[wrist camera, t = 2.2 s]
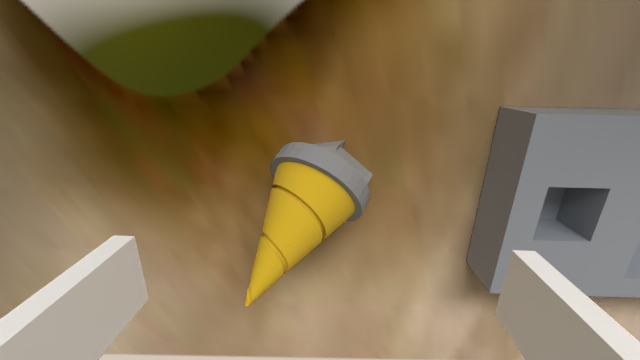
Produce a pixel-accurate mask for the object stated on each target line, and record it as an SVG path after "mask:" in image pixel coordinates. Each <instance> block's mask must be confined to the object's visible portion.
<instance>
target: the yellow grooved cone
mask: <svg viewBox="0 0 640 360" xmlns="http://www.w3.org/2000/svg"><path fill="white" fill-rule="evenodd" d="M344 143H345V140H343V141H334V142H326V143H318V144H308V143H302V142H293V143H288V144H286V145H284V146H283V147H282V148H281V149H280V151H279V152H278V154H277V155H276V156H275V158H274V159H273V161H272V162H271V165H270V170H271V173H272V176H273V177H274V181H273V185H272V187H273V188H272V189H271V193H270V198H269V202H268V206H267V210H266V214H265V219H264V223H263V227H262V231H263V232H264V233H265V234H264V235H260V240H259V244H258V248H257V252H256V256H255V261H254V265H253V269H252V273H251V277H250V286H249V288H248V290H247V294H246V299H245V303H244V305H245V306H249V305H250V304H251V303H252V302H253V301H254V300H256V299H257V298H258V297H259V296H260V295H261V294H262V293H264V292H265V291H266V290H267V289H268V288H269V287H270V286H272V285H273V284H274V283H275V282H276V281H277V280H278V279H280V278H281V277H282V276H283V274H285V273H286V272H288V271H289V270H290V269H291V268H292V267H293V266H294V265H296V264H297V263H298V262H299V261H300V260H301V259H302V258H304V257H305V256H306V255H307V254H308V253H309V252H310V251H312V250H313V249H314V248H315V247H316V246H317V245H318V244H320V243H321V242H322V241H323V240H324V239H325V238H326V237H328V236H329V235H330V234H331V233H332V232H333V231H334V230H336V229H337V228H338V227H339V226H340V225H341V224H342V223H344V222H345V221H354V220H356V219H358V218H359V217H360V216H361V214H362V212H363V210H364V208H365V206H366V204H367V202H368V200H369V196H370V194H369V189H368V187H367V185H368V183H369V181H370V179H371V177H372V175H373V174H372V173H371V172H370V171H368V170H367V169H366V168H365V167H364V166H363V165H361V164H360V163H359V162H358V161H357V160H356V159H355V158H353V157H352V156H351V155H350V154H349V153H348V152H346V151H345V150H344V149H343V148H342V147H343V145H344Z"/></svg>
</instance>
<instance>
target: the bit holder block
mask: <svg viewBox="0 0 640 360" xmlns="http://www.w3.org/2000/svg"><path fill="white" fill-rule="evenodd" d="M512 250H523V251H536V252H537V253H538V254H539V255H540V256H542V257H543V258H544V259H545V260H546V261H547V262H548V263H550V264H551V265H552V266H553V267H554V268H555V269H556V270H558V271H559V272H560V273H561V274H562V275H563V276H564V277H566V278H567V279H568V280H569V281H570V282H571V283H572V284H574V285H575V286H576V287H577V288H578V289H579V290H580V291H582V292H583V293H584V294H585V295H586V296H600V297H633V298H640V109H600V108H550V107H500V110H499V115H498V119H497V124H496V128H495V133H494V137H493V142H492V146H491V151H490V156H489V160H488V165H487V169H486V174H485V178H484V183H483V187H482V192H481V196H480V201H479V205H478V210H477V214H476V219H475V223H474V228H473V232H472V237H471V242H470V246H469V251H468V255H467V260H466V262H467V263H468V265H469V266H470V267H471V269H472V270H473V272H474V273H475V274H476V276H477V277H478V278H479V280H480V281H481V282H482V284H483V285H484V287H485V288H486V289H487V291H488V292H489V293H498V294H500V293H501V289H502V286H503V282H504V278H505V275H506V271H507V267H508V264H509V260H510V256H511V253H512Z"/></svg>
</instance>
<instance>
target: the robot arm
mask: <svg viewBox="0 0 640 360" xmlns="http://www.w3.org/2000/svg"><path fill="white" fill-rule="evenodd" d="M147 300H148V294H147V290H146V285H145V281H144V276H143V272H142V267H141V263H140V258H139V253H138V249H137V244H136V240H135V236H112V237H111V238H110V239H108V240H107V241H106V242H104V243H103V244H102V245H100V246H99V247H97V248H96V249H95V250H93V251H92V252H91V253H89V254H88V255H87V256H85V257H84V258H83V259H81V260H80V261H78V262H77V263H76V264H74V265H73V266H72V267H70V268H69V269H68V270H66V271H65V272H64V273H62V274H61V275H59V276H58V277H57V278H55V279H54V280H53V281H51V282H50V283H49V284H47V285H46V286H45V287H43V288H42V289H40V290H39V291H38V292H36V293H35V294H34V295H32V296H31V297H30V298H28V299H27V300H26V301H24V302H23V303H21V304H20V305H19V306H17V307H16V308H15V309H13V310H12V311H11V312H9V313H8V314H7V315H5V316H4V317H2V318H1V319H0V360H99V359H100V358H101V356H102V355H103V354H104V353H105V352H106V350H107V349H108V348H109V347H110V345H111V344H112V343H113V342H114V341H115V339H116V338H117V337H118V336H119V334H120V333H121V332H122V331H123V330H124V328H125V327H126V326H127V325H128V324H129V322H130V321H131V320H132V319H133V317H134V316H135V315H136V314H137V313H138V311H139V310H140V309H141V308H142V306H143V305H144V304H145V303H146V302H147ZM495 315H496V317H497V318H498V320H499V321H500V323H501V324H502V326H503V327H504V328H505V330H506V331H507V333H508V334H509V336H510V337H511V339H512V340H513V342H514V343H515V345H516V346H517V348H518V349H519V351H520V352H521V354H522V355H523V357H524V358H525V360H640V342H639V341H638V340H637V339H635V338H634V337H633V336H632V335H631V334H630V333H629V332H627V331H626V330H625V329H624V328H623V327H622V326H621V325H619V324H618V323H617V322H616V321H615V320H614V319H613V318H611V317H610V316H609V315H608V314H607V313H606V312H605V311H603V310H602V309H601V308H600V307H599V306H598V305H597V304H595V303H594V302H593V301H592V300H591V299H590V298H589V297H587V296H586V295H585V294H584V293H583V292H582V291H580V290H579V289H578V288H577V287H576V286H575V285H574V284H572V283H571V282H570V281H569V280H568V279H567V278H566V277H564V276H563V275H562V274H561V273H560V272H559V271H558V270H556V269H555V268H554V267H553V266H552V265H551V264H550V263H548V262H547V261H546V260H545V259H544V258H543V257H542V256H540V255H539V254H538V253H537V252H536V251H523V250H512V253H511V256H510V260H509V264H508V267H507V271H506V275H505V278H504V282H503V286H502V289H501V293H500V297H499V300H498V304H497V308H496V311H495Z"/></svg>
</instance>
